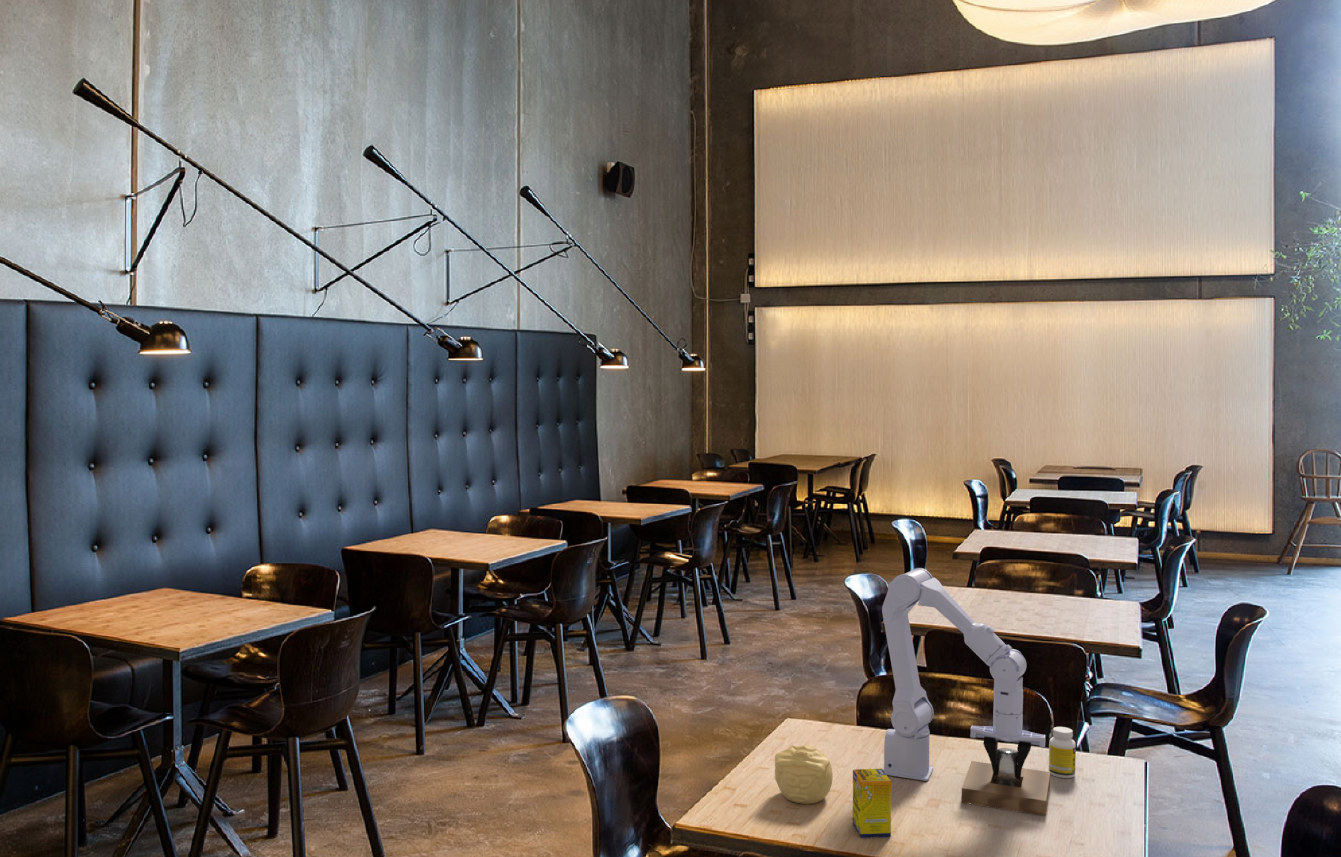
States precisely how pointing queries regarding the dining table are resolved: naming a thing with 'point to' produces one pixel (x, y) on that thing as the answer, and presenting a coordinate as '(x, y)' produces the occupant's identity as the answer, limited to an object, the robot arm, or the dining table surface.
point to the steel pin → (1007, 766)
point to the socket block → (1007, 790)
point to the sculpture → (803, 774)
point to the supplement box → (871, 803)
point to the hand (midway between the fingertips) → (1006, 775)
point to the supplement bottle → (1062, 753)
